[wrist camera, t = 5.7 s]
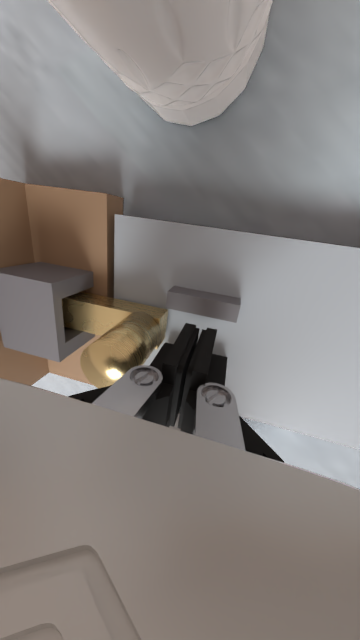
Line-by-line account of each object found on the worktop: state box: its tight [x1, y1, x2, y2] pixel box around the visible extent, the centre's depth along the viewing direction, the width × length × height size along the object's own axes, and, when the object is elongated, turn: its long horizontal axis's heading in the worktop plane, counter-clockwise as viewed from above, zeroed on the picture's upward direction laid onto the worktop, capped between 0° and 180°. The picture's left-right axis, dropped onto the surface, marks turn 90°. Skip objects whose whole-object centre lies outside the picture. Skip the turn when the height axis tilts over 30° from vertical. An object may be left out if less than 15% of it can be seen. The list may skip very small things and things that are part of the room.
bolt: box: [62, 291, 168, 388], centre depth 13 cm, size 9×2×6 cm, turn 83°
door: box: [0, 178, 360, 450], centre depth 13 cm, size 26×14×8 cm, turn 83°
